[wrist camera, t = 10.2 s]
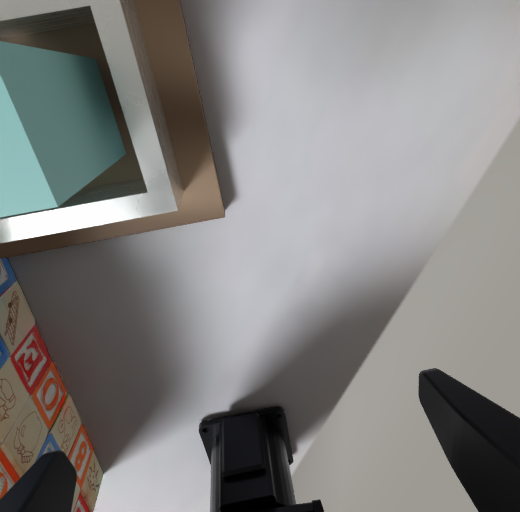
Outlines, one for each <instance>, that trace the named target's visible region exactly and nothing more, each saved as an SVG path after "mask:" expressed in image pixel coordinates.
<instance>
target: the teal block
mask: <svg viewBox="0 0 520 512" xmlns="http://www.w3.org/2000/svg"><path fill="white" fill-rule="evenodd" d="M124 155H126V151H125V148H124V145H123V142H122V138H121V135H120V132H119V129H118V126H117V123H116V120H115V117H114V114H113V110H112V107H111V104H110V101H109V98H108V95H107V92H106V89H105V85H104V82H103V79H102V76H101V73H100V70H99V67H98V64H97V61H96V59H95V58H89V57H84V56H79V55H73V54H68V53H62V52H57V51H52V50H46V49H41V48H35V47H30V46H25V45H19V44H14V43H8V42H3V41H0V217H6V216H11V215H17V214H22V213H28V212H33V211H39V210H44V209H50V208H55V207H59V206H60V205H61V204H62V203H64V202H65V201H66V200H68V199H69V198H70V197H71V196H73V195H74V194H75V193H77V192H78V191H79V190H81V189H82V188H83V187H84V186H86V185H87V184H88V183H90V182H91V181H92V180H93V179H95V178H96V177H97V176H99V175H100V174H101V173H102V172H104V171H105V170H106V169H108V168H109V167H110V166H111V165H113V164H114V163H115V162H117V161H118V160H119V159H120V158H122V157H123V156H124Z"/></svg>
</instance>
